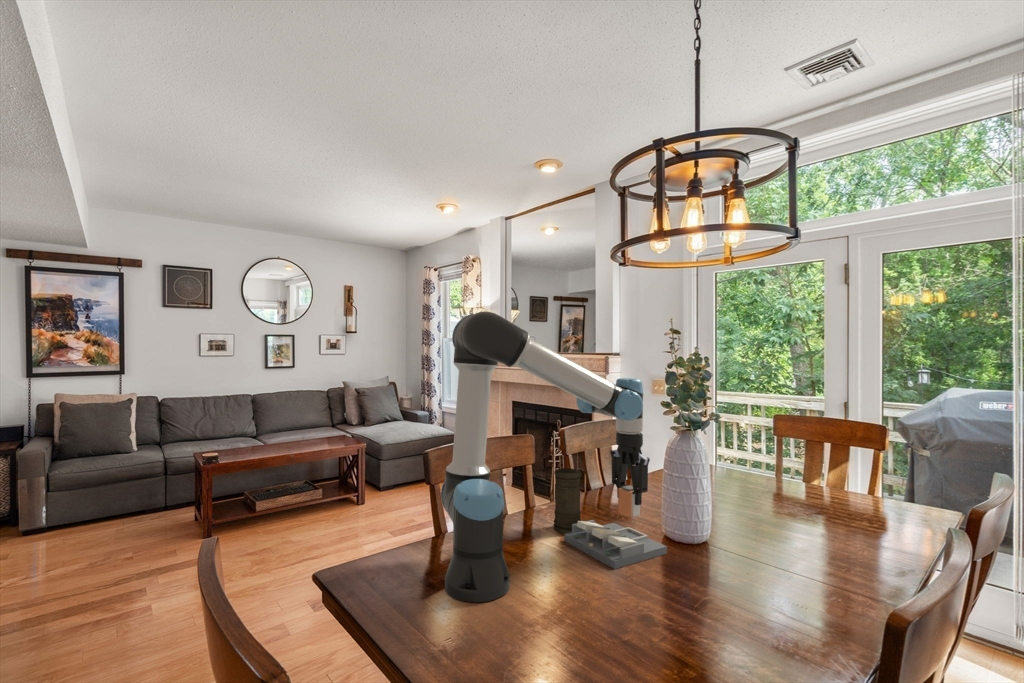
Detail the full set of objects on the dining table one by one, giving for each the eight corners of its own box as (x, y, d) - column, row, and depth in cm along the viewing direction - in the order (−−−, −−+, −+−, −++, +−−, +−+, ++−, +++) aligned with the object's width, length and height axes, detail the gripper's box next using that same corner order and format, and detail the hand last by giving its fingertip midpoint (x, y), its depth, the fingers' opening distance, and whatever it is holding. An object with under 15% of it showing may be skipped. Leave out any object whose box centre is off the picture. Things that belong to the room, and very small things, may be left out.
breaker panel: (614, 569, 124) (614, 551, 125) (564, 541, 142) (564, 525, 143) (666, 553, 134) (667, 537, 134) (613, 529, 152) (613, 515, 152)
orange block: (629, 517, 138) (629, 490, 139) (618, 512, 142) (618, 486, 142) (641, 514, 141) (641, 488, 141) (629, 510, 145) (629, 484, 145)
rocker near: (618, 546, 128) (619, 540, 128) (607, 541, 131) (609, 535, 131) (637, 548, 131) (638, 542, 131) (626, 543, 135) (627, 537, 135)
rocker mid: (601, 539, 133) (602, 532, 134) (591, 534, 137) (592, 527, 137) (619, 539, 137) (620, 533, 137) (609, 535, 140) (611, 528, 141)
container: (572, 537, 146) (573, 476, 146) (547, 530, 151) (548, 471, 151) (587, 528, 153) (588, 470, 153) (562, 522, 158) (563, 466, 158)
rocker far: (585, 530, 139) (586, 524, 139) (576, 526, 142) (577, 520, 143) (603, 532, 142) (604, 527, 143) (594, 528, 146) (595, 522, 146)
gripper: (662, 435, 136) (661, 519, 136) (617, 426, 151) (617, 502, 151) (642, 437, 132) (642, 524, 132) (599, 428, 147) (598, 506, 147)
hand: (629, 512), depth 141 cm, fingers closed on orange block, 4 cm apart
